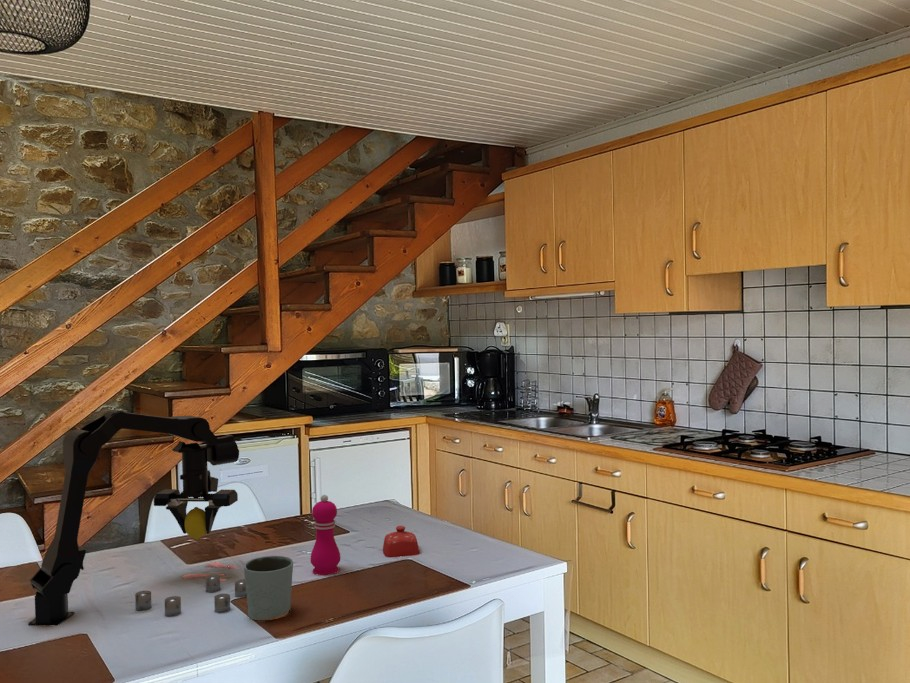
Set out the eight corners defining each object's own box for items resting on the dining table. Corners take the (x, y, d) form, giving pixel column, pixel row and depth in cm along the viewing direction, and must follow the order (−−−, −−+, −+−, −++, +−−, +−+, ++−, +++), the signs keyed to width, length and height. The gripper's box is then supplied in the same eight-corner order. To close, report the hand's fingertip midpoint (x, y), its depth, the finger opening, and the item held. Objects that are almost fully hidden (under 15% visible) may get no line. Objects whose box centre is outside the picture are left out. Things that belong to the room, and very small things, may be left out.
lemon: (201, 543, 179) (200, 510, 179) (180, 542, 180) (179, 509, 180) (213, 537, 185) (212, 504, 184) (193, 536, 186) (192, 503, 185)
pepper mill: (304, 578, 184) (303, 496, 184) (323, 569, 191) (321, 490, 190) (328, 583, 181) (327, 499, 180) (346, 573, 187) (345, 493, 187)
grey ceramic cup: (274, 606, 166) (273, 552, 166) (304, 617, 160) (303, 561, 160) (234, 621, 158) (233, 564, 158) (264, 633, 152) (263, 574, 152)
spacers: (228, 621, 158) (227, 602, 158) (125, 619, 160) (125, 600, 160) (256, 592, 175) (255, 574, 175) (163, 590, 177) (163, 573, 177)
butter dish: (377, 552, 204) (376, 521, 204) (420, 550, 206) (419, 519, 206) (380, 566, 193) (380, 533, 193) (425, 563, 195) (425, 530, 195)
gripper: (245, 462, 189) (247, 524, 189) (173, 462, 191) (175, 523, 191) (227, 471, 178) (229, 537, 178) (151, 471, 180) (153, 536, 180)
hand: (197, 533), depth 182 cm, fingers closed on lemon, 5 cm apart
